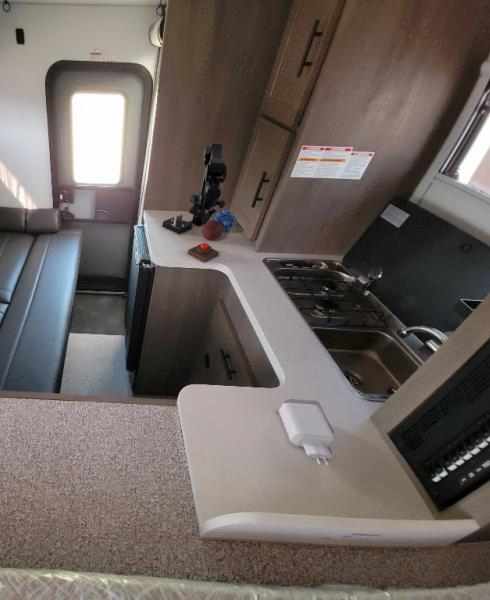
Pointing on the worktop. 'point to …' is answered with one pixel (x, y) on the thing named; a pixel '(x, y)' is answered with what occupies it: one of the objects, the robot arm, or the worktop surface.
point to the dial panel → (177, 226)
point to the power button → (204, 246)
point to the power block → (203, 253)
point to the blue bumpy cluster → (226, 219)
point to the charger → (308, 429)
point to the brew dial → (178, 219)
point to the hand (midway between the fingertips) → (203, 224)
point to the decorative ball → (212, 229)
